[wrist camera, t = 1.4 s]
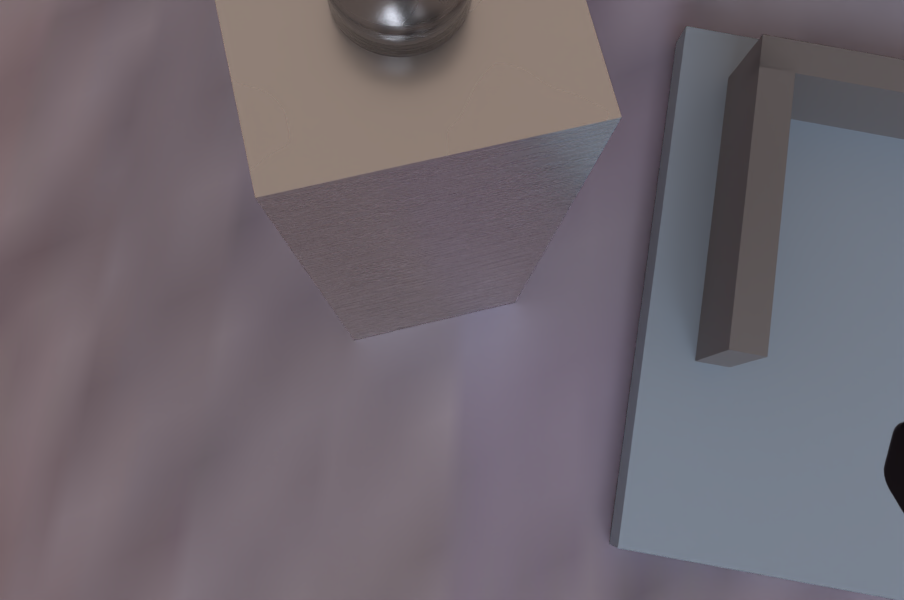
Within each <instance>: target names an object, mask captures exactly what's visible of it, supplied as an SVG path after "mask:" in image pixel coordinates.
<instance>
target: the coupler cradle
mask: <svg viewBox="0 0 904 600" xmlns="http://www.w3.org/2000/svg"><path fill="white" fill-rule="evenodd" d="M901 422H904V60H903V59H898V58H892V57H887V56H881V55H875V54H870V53H864V52H859V51H853V50H848V49H842V48H837V47H831V46H826V45H820V44H814V43H809V42H803V41H798V40H792V39H787V38H781V37H776V36H770V35H764V34H763V35H762V36H761V37H760V39H755V38H750V37H744V36H739V35H733V34H728V33H722V32H716V31H711V30H705V29H700V28H694V27H689V26H686V28H685V29H684V31H683V33H682V34H681V36H680V38H679V39H678V41H677V42H676V48H675V56H674V63H673V71H672V78H671V86H670V93H669V101H668V108H667V116H666V123H665V131H664V138H663V146H662V153H661V161H660V168H659V176H658V183H657V191H656V198H655V206H654V213H653V221H652V228H651V236H650V243H649V251H648V258H647V266H646V273H645V281H644V288H643V296H642V303H641V311H640V318H639V326H638V333H637V341H636V348H635V356H634V363H633V371H632V378H631V386H630V393H629V401H628V408H627V416H626V423H625V431H624V438H623V446H622V453H621V461H620V468H619V476H618V483H617V491H616V498H615V506H614V513H613V521H612V528H611V536H610V543H609V544H611V545H613V546H615V547H617V548H619V549H625V550H630V551H636V552H641V553H646V554H652V555H657V556H663V557H668V558H673V559H679V560H684V561H689V562H695V563H700V564H706V565H711V566H716V567H722V568H727V569H733V570H738V571H743V572H749V573H754V574H760V575H765V576H770V577H776V578H781V579H787V580H792V581H797V582H803V583H808V584H814V585H819V586H824V587H830V588H835V589H840V590H846V591H851V592H857V593H862V594H867V595H873V596H878V597H884V598H889V599H894V600H904V513H903V512H902V510H901V508H900V507H899V505H898V503H897V502H896V500H895V498H894V497H893V495H892V493H891V492H890V490H889V488H888V486H887V484H886V481H885V477H884V464H885V460H886V456H887V452H888V449H889V445H890V441H891V437H892V433H893V430H894V428H895V427H896V426H897V425H898V424H899V423H901Z"/></svg>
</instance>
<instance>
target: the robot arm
mask: <svg viewBox="0 0 904 600" xmlns="http://www.w3.org/2000/svg"><path fill="white" fill-rule="evenodd" d="M884 477H885V481H886V484H887V486H888V488H889V490H890V492H891V493H892V495H893V497H894V498H895V500H896V502H897V503H898V505H899V507H900V508H901V510H902V512H903V513H904V422H901V423H899V424H898V425H897V426H896V427H895V428H894V430H893V433H892V437H891V441H890V445H889V449H888V452H887V456H886V460H885V464H884Z"/></svg>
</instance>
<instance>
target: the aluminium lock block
mask: <svg viewBox="0 0 904 600" xmlns="http://www.w3.org/2000/svg"><path fill="white" fill-rule="evenodd" d="M215 3H216V8H217V13H218V18H219V23H220V27H221V32H222V37H223V42H224V47H225V52H226V57H227V62H228V67H229V72H230V76H231V81H232V86H233V91H234V96H235V101H236V106H237V111H238V116H239V121H240V126H241V130H242V135H243V140H244V145H245V150H246V155H247V160H248V165H249V170H250V175H251V179H252V184H253V189H254V194H255V198H256V200H257V201H258V203H259V204H260V205H261V207H262V208H263V210H264V211H265V213H266V214H267V215H268V217H269V218H270V220H271V221H272V223H273V224H274V226H275V227H276V228H277V230H278V231H279V233H280V234H281V236H282V237H283V238H284V240H285V241H286V243H287V244H288V246H289V247H290V249H291V250H292V251H293V253H294V254H295V256H296V257H297V259H298V260H299V262H300V263H301V264H302V266H303V267H304V269H305V270H306V272H307V273H308V274H309V276H310V277H311V279H312V280H313V282H314V283H315V285H316V286H317V287H318V289H319V290H320V292H321V293H322V295H323V296H324V297H325V299H326V300H327V302H328V303H329V305H330V306H331V308H332V309H333V310H334V312H335V313H336V315H337V316H338V318H339V319H340V321H341V322H342V323H343V325H344V326H345V328H346V329H347V331H348V332H349V333H350V335H351V336H352V338H353V339H354V340H357V339H362V338H366V337H370V336H374V335H378V334H383V333H387V332H391V331H395V330H400V329H404V328H408V327H412V326H417V325H421V324H425V323H429V322H434V321H438V320H442V319H446V318H451V317H455V316H459V315H463V314H467V313H472V312H476V311H480V310H484V309H489V308H493V307H497V306H501V305H506V304H510V303H514V302H516V300H517V298H518V297H519V295H520V293H521V292H522V290H523V288H524V286H525V285H526V283H527V281H528V279H529V278H530V276H531V274H532V272H533V271H534V269H535V267H536V265H537V264H538V262H539V260H540V258H541V257H542V255H543V253H544V252H545V250H546V248H547V246H548V245H549V243H550V241H551V239H552V238H553V236H554V234H555V232H556V231H557V229H558V227H559V225H560V224H561V222H562V220H563V218H564V217H565V215H566V213H567V211H568V210H569V208H570V206H571V205H572V203H573V201H574V199H575V198H576V196H577V194H578V192H579V191H580V189H581V187H582V185H583V184H584V182H585V180H586V178H587V177H588V175H589V173H590V171H591V170H592V168H593V166H594V165H595V163H596V161H597V159H598V158H599V156H600V154H601V152H602V151H603V149H604V147H605V145H606V144H607V142H608V140H609V138H610V137H611V135H612V133H613V131H614V130H615V128H616V126H617V125H618V123H619V121H620V119H621V118H622V117H621V114H620V110H619V107H618V104H617V100H616V97H615V94H614V91H613V87H612V84H611V81H610V78H609V74H608V71H607V68H606V65H605V61H604V58H603V55H602V51H601V48H600V45H599V42H598V38H597V35H596V32H595V29H594V25H593V22H592V19H591V16H590V12H589V9H588V6H587V2H586V0H215Z"/></svg>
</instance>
